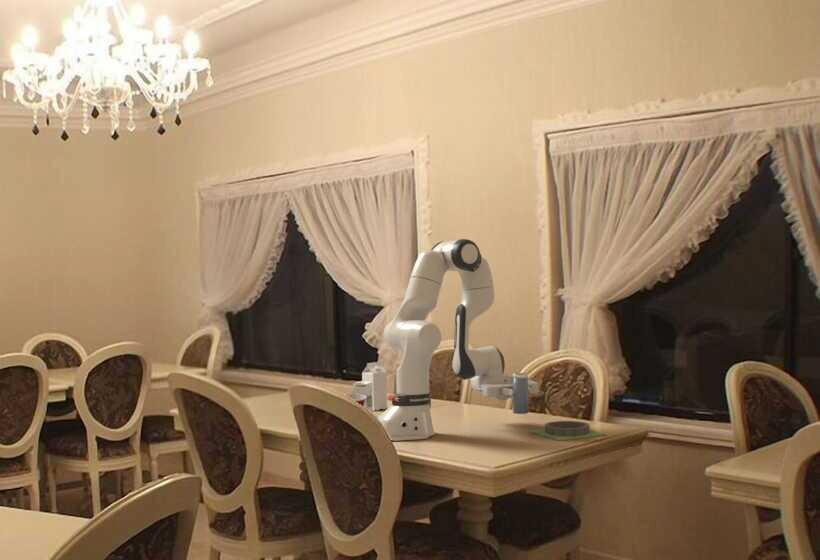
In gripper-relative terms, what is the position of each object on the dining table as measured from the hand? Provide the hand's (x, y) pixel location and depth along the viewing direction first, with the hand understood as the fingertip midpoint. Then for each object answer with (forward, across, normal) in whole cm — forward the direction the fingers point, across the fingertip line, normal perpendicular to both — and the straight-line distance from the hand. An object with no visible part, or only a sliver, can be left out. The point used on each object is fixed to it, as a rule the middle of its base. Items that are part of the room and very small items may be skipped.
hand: (521, 391), depth 284 cm
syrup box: (-55, -36, +15) cm, 67 cm away
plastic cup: (-40, -46, +15) cm, 63 cm away
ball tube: (-1, 0, +7) cm, 7 cm away
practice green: (+5, +14, +14) cm, 21 cm away
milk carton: (-78, -22, +15) cm, 82 cm away
